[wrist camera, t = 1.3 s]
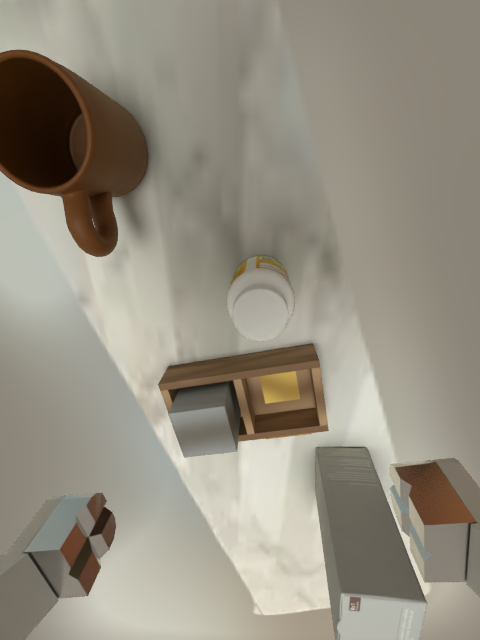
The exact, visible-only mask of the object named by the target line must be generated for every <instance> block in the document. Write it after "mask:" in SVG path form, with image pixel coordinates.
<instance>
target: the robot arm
mask: <svg viewBox="0 0 480 640" xmlns="http://www.w3.org/2000/svg"><path fill="white" fill-rule="evenodd" d="M389 469H390V477H391V479H392V481H393V484H394V485H393V486H392V487H391V488H390V489H391V499H392V503H393V508H394V511H395V514H396V517H397V520H398V522H399V525H400V527H401V529H402V531H403V532H404V533H406V534H407V535H408V536H409V537H410V550H411V553H412V555H413V557H414V559H415V562H416V564H417V566H418V569H419V571H420V573H421V575H422V578H423V580H424V582H467V585H468V586H469V587H470V588H471V589H472V590H473V591H474V592H475V593H476V594H477V595H478V596H479V597H480V487H479V486H478V485H477V484H476V482H475V481H474V480H473V479H472V477H471V476H470V475H469V473H468V472H467V471H466V470H465V468H464V467H463V466H462V464H461V463H460V462H459V461H458V460H456V459H455V458H448V459H438V460H432V461H431V460H426V461H416V462H407V463H398V464H391V465H390V468H389ZM106 502H107V501H106V499H105V497H104V495H103V493H86V494H70V495H59V496H52V497H51V498H49V499H48V500H46V501H45V503H44V504H43V505H42V507H41V508H40V510H39V511H38V512H37V513H36V515H35V516H34V517H33V519H32V520H31V521H30V523H29V524H28V525H27V526H26V528H25V529H24V530H23V532H22V533H21V534H20V536H19V537H18V538H17V540H16V541H15V542H14V544H13V545H12V546H11V548H10V549H9V550H8V552H7V553H6V554H5V555H0V640H25V639H26V638H27V636H28V635H29V634H30V633H31V632H32V631H33V629H34V628H35V627H36V626H37V625H38V624H39V623H40V621H41V620H42V619H43V618H44V617H45V616H46V614H47V613H48V612H49V611H50V610H51V609H52V608H53V606H54V605H55V604H56V603H57V602H58V598H71V597H83V596H88V595H89V592H90V590H91V588H92V586H93V584H94V582H95V579H96V577H97V575H98V573H99V571H100V568H101V562H100V558H101V557H102V556H103V555H104V554H105V553H106V552H107V551H108V550H109V549H110V546H111V544H112V542H113V539H114V535H115V529H116V523H115V517H114V515H113V513H112V512H111V511H110V510H108V509H107V508H106V507H105V505H106Z"/></svg>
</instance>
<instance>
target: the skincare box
mask: <svg viewBox="0 0 480 640" xmlns="http://www.w3.org/2000/svg"><path fill="white" fill-rule="evenodd" d="M316 499H317V507H318V514H319V522H320V529H321V537H322V544H323V552H324V559H325V567H326V574H327V582H328V590H329V597H330V605H331V612H332V620H333V626H334V634H335V640H419V639H420V635H421V631H422V626H423V622H424V617H425V613H426V608H427V604H428V603H427V601H426V599H425V597H424V594H423V592H422V589H421V587H420V584H419V581H418V579H417V576H416V574H415V571H414V569H413V566H412V564H411V561H410V559H409V556H408V553H407V551H406V548H405V545H404V543H403V540H402V538H401V535H400V532H399V530H398V527H397V525H396V522H395V519H394V517H393V514H392V511H391V509H390V506H389V504H388V501H387V498H386V496H385V493H384V491H383V488H382V485H381V483H380V480H379V478H378V475H377V472H376V470H375V467H374V464H373V462H372V459H371V456H370V454H369V452H368V449H367V448H333V447H317V448H316Z"/></svg>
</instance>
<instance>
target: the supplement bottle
mask: <svg viewBox="0 0 480 640" xmlns="http://www.w3.org/2000/svg"><path fill="white" fill-rule="evenodd" d="M294 307H295V298H294V292H293V289H292V287H291V284H290V281H289V278H288V276H287V273H286V271H285V269H284V267H283V266H282V265H281V264H280V263H279V262H278V261H277V260H275V259H273V258H271V257H268V256H254V257H251V258H248V259H247V260H245V261H244V262H243V263H242V264H241V265H240V266H239V267H238V269H237V270H236V273H235V275H234V278H233V281H232V283H231V286H230V288H229V291H228V295H227V309H228V312H229V315H230V317H231V319H232V320H233V323H234V326H235V327H236V329H237V330H238V332H239V333H240V334H241V335H243V336H244V337H246V338H248V339H250V340H253V341H267V340H271V339H273V338H275V337H277V336H278V335H279V334H280V333H281V332H282V331H283V330H284V329H285V327H286V325H287V323H288V321H289V320H290V318H291V316H292V314H293V311H294Z"/></svg>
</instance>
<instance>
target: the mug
mask: <svg viewBox="0 0 480 640" xmlns="http://www.w3.org/2000/svg"><path fill="white" fill-rule="evenodd" d="M146 164H147V148H146V143H145V139H144V136H143V133H142V131H141V129H140V127H139V126H138V124H137V122H136V121H135V119H134V118H133V117H132V116H131V114H130V113H129V112H128V111H127V110H125V109H124V108H123V107H122V106H121V105H119V104H118V103H117V102H115V101H114V100H112V99H111V98H110V97H108V96H107V95H105V94H104V93H103V92H101V91H100V90H99V89H97V88H96V87H94V86H93V85H91V84H90V83H88V82H87V81H86V80H84V79H83V78H81V77H80V76H78V75H77V74H75V73H74V72H72V71H71V70H69V69H67V68H66V67H64V66H62V65H60V64H58V63H56V62H54V61H52V60H51V59H49V58H47V57H45V56H43V55H40V54H38V53H35V52H32V51H28V50H10V51H6V52H2V53H0V171H1V172H2V173H3V174H4V175H5V176H7V177H8V178H9V179H10V180H12V181H13V182H15V183H16V184H18V185H19V186H21V187H23V188H25V189H28V190H30V191H33V192H37V193H43V194H50V195H55V196H61V197H62V199H63V203H64V210H65V216H66V222H67V226H68V229H69V231H70V233H71V235H72V237H73V238H74V240H75V241H76V243H77V244H78V246H79V247H80V248H81V249H82V250H83V251H85V252H86V253H88V254H90V255H93V256H95V257H102V256H106V255H108V254H110V253H111V252H112V251H113V250H114V248H115V247H116V244H117V241H118V227H117V222H116V218H115V215H114V212H113V205H112V197H118V196H121V195H124V194H126V193H128V192H130V191H131V190H133V189H134V188H135V187H136V186H137V185H138V183H139V182H140V181H141V179H142V177H143V175H144V172H145V169H146ZM92 219H93V221H92ZM93 222H94V225H95V227H94V225H93Z"/></svg>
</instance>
